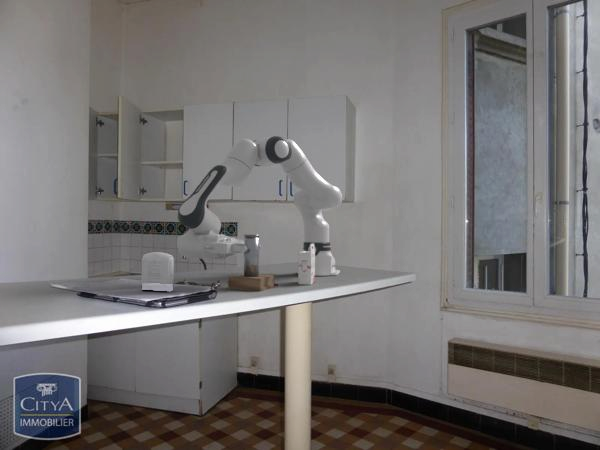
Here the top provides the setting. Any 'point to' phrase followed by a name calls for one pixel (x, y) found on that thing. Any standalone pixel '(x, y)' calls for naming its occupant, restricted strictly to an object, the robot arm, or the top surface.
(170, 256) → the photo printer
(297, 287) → the top surface
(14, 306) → the top surface
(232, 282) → the walnut plinth
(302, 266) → the ink cartridge box
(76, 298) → the top surface
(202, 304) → the top surface
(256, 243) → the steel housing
